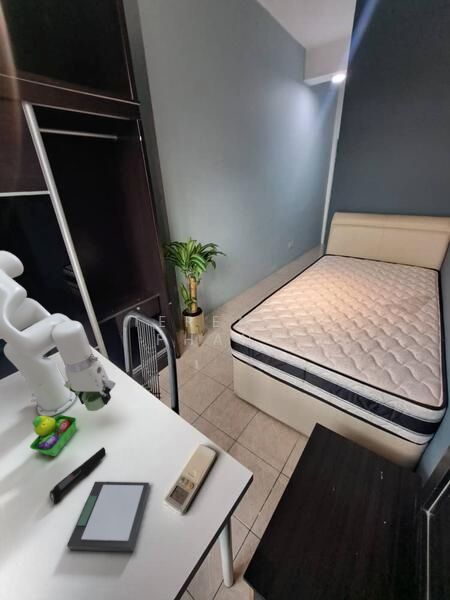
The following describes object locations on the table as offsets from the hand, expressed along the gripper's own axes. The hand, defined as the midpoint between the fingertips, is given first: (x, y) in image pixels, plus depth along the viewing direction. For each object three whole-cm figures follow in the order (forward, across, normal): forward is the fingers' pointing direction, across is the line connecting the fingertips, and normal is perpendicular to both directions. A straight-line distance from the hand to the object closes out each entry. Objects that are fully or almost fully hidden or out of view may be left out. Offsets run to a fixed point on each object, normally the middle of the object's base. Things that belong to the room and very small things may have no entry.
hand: (96, 400), depth 81 cm
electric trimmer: (+11, -1, +17) cm, 20 cm away
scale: (+10, -15, +26) cm, 32 cm away
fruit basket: (+11, +12, +7) cm, 18 cm away
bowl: (+1, 0, 0) cm, 1 cm away
